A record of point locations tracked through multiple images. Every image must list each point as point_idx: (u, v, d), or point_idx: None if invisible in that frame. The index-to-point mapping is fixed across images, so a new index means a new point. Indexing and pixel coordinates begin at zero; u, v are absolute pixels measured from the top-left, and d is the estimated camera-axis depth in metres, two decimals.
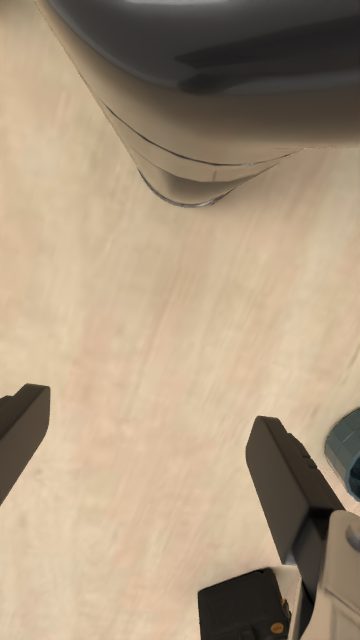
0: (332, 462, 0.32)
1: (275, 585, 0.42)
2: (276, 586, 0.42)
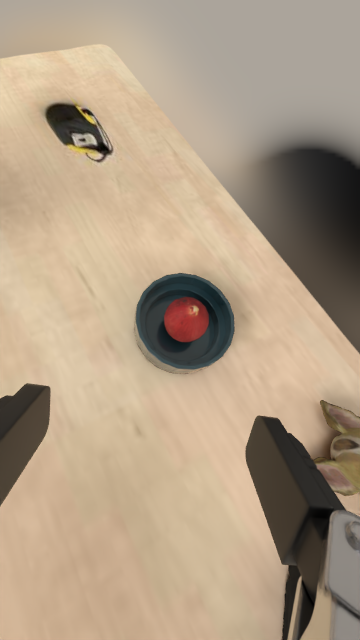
0: (157, 364, 0.32)
1: None
2: None
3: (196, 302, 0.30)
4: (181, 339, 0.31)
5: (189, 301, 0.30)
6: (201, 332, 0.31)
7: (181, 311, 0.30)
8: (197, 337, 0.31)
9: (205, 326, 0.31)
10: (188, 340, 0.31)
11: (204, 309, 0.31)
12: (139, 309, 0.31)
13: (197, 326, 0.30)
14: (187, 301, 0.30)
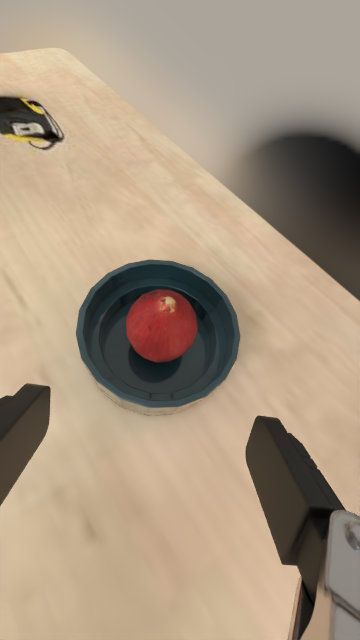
0: (119, 403, 0.19)
1: None
2: None
3: (172, 293, 0.19)
4: (154, 357, 0.19)
5: (160, 292, 0.18)
6: (186, 342, 0.19)
7: (147, 309, 0.18)
8: (180, 351, 0.19)
9: (191, 331, 0.19)
10: (166, 358, 0.19)
11: (187, 304, 0.19)
12: (83, 315, 0.19)
13: (176, 331, 0.18)
14: (156, 293, 0.18)
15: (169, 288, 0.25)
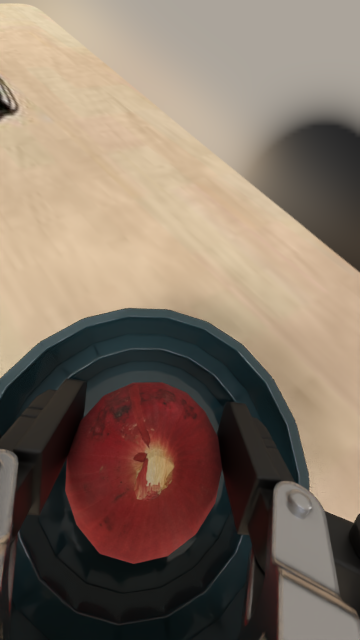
0: None
1: None
2: None
3: (167, 414, 0.08)
4: None
5: (139, 416, 0.08)
6: (199, 526, 0.08)
7: (103, 469, 0.07)
8: None
9: (212, 498, 0.08)
10: None
11: (201, 434, 0.08)
12: None
13: (177, 524, 0.07)
14: (129, 418, 0.08)
15: (164, 353, 0.14)
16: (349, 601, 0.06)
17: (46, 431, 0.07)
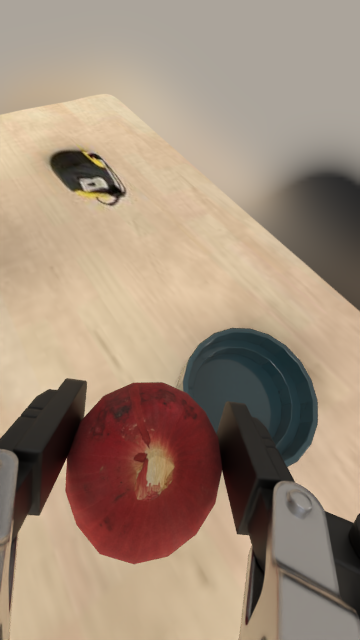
0: None
1: None
2: None
3: (167, 414, 0.08)
4: None
5: (139, 416, 0.08)
6: (199, 526, 0.08)
7: (102, 469, 0.07)
8: (187, 539, 0.08)
9: (212, 498, 0.08)
10: None
11: (201, 434, 0.08)
12: (186, 386, 0.22)
13: (177, 524, 0.07)
14: (129, 418, 0.08)
15: (244, 349, 0.28)
16: (349, 601, 0.06)
17: (46, 431, 0.07)
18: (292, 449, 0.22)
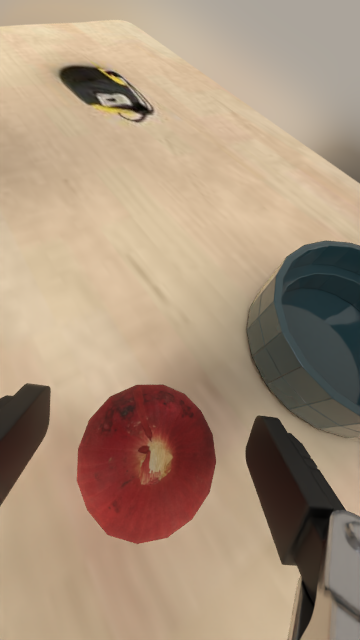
0: (330, 424, 0.15)
1: None
2: None
3: (167, 413, 0.09)
4: None
5: (142, 415, 0.09)
6: (195, 511, 0.09)
7: (111, 460, 0.08)
8: (184, 523, 0.10)
9: (206, 487, 0.09)
10: None
11: (197, 430, 0.09)
12: (281, 308, 0.15)
13: (175, 508, 0.08)
14: (134, 416, 0.09)
15: (334, 277, 0.20)
16: None
17: None
18: None
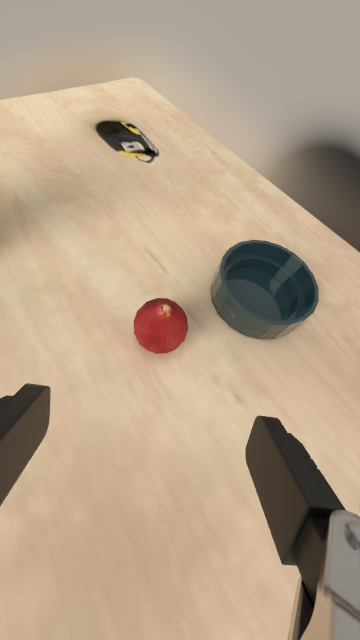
0: (246, 327, 0.31)
1: None
2: None
3: (168, 301, 0.25)
4: (155, 349, 0.25)
5: (159, 301, 0.25)
6: (178, 338, 0.25)
7: (149, 313, 0.24)
8: (175, 345, 0.26)
9: (183, 330, 0.25)
10: (164, 350, 0.25)
11: (179, 309, 0.25)
12: (223, 272, 0.31)
13: (171, 329, 0.24)
14: (156, 302, 0.25)
15: (261, 260, 0.36)
16: None
17: None
18: (300, 317, 0.31)
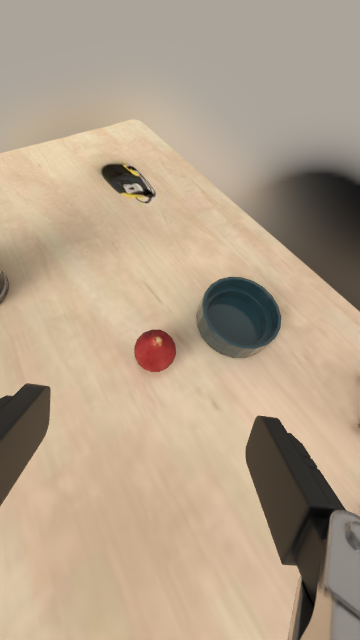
0: (223, 349, 0.39)
1: None
2: None
3: (160, 333, 0.33)
4: (150, 369, 0.34)
5: (154, 333, 0.33)
6: (168, 361, 0.33)
7: (146, 343, 0.32)
8: (165, 366, 0.34)
9: (171, 355, 0.34)
10: (157, 369, 0.34)
11: (169, 339, 0.34)
12: (204, 305, 0.39)
13: (162, 355, 0.32)
14: (152, 334, 0.33)
15: (238, 292, 0.44)
16: None
17: None
18: None
